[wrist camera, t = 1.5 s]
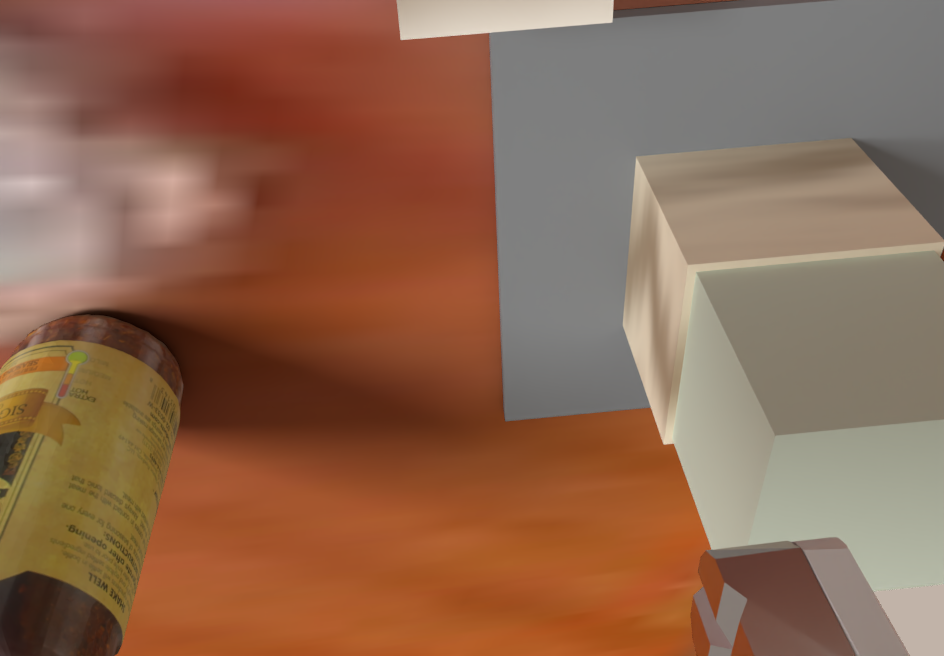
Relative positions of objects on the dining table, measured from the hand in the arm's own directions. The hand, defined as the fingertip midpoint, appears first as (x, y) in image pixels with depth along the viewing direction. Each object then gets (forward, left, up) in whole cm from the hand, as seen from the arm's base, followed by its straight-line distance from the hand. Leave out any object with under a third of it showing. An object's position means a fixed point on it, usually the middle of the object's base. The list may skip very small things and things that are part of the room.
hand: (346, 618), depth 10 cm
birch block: (+8, +12, -19) cm, 23 cm away
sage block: (+8, +12, -13) cm, 19 cm away
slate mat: (+8, +12, -19) cm, 24 cm away
